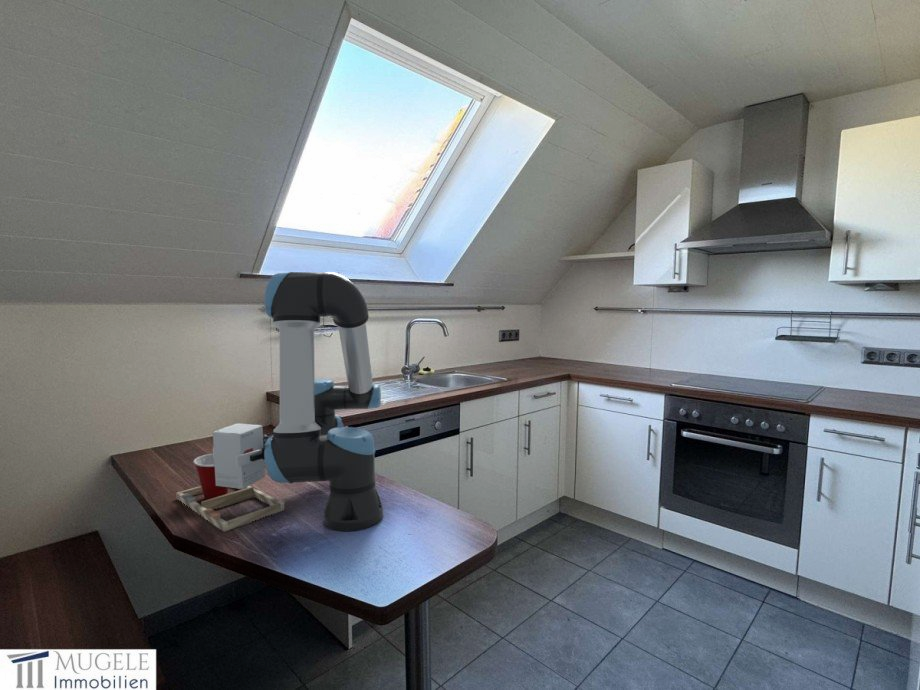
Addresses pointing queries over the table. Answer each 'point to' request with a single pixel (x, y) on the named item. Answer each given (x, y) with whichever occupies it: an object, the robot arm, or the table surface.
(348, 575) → the table surface
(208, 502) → the wooden frame
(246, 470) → the supplement box
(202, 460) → the plastic cup
